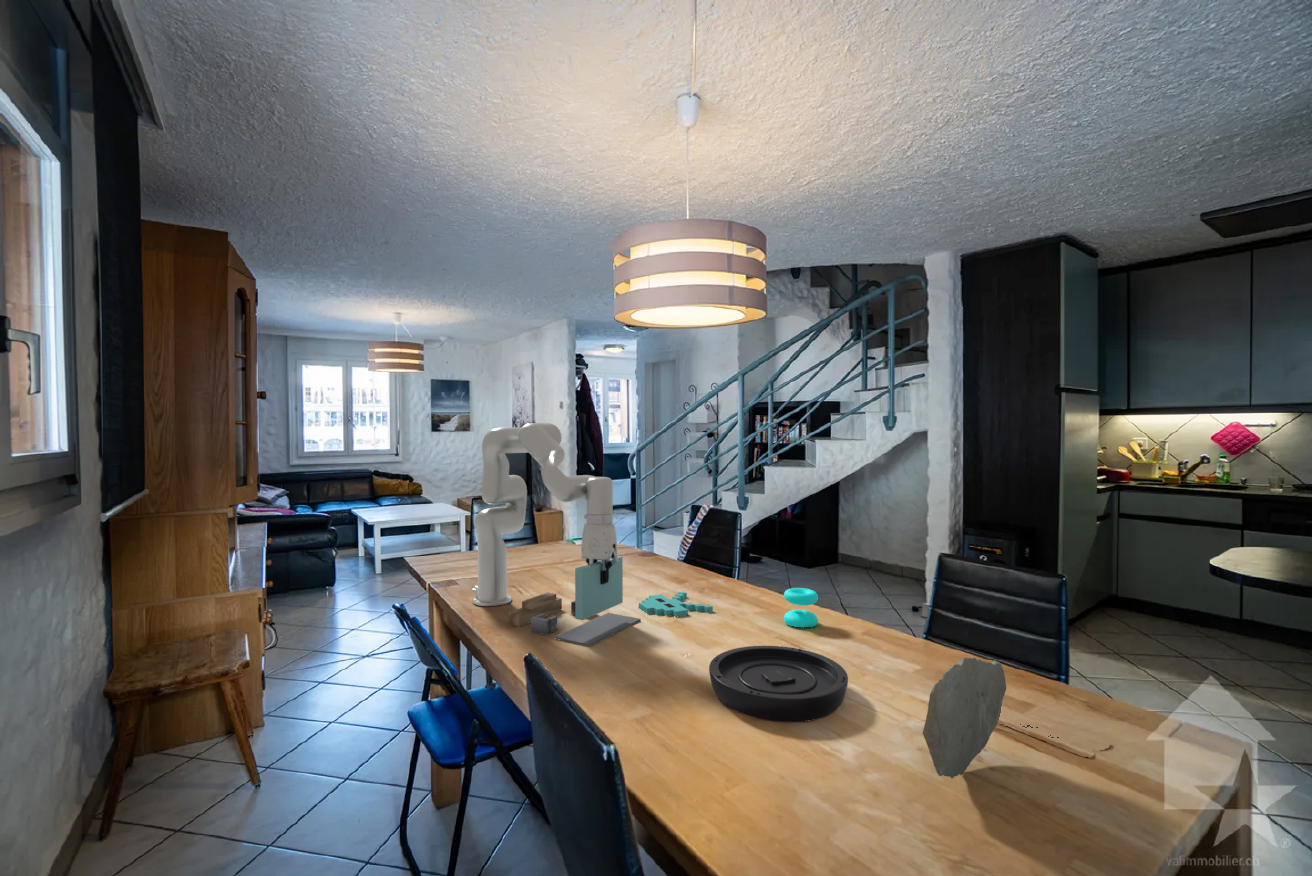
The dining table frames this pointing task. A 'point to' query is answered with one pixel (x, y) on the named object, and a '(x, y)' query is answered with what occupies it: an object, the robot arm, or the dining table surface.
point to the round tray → (778, 683)
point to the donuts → (802, 598)
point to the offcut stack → (535, 608)
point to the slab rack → (547, 622)
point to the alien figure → (671, 605)
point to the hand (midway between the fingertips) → (599, 582)
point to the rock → (963, 713)
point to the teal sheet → (597, 589)
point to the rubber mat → (597, 629)
